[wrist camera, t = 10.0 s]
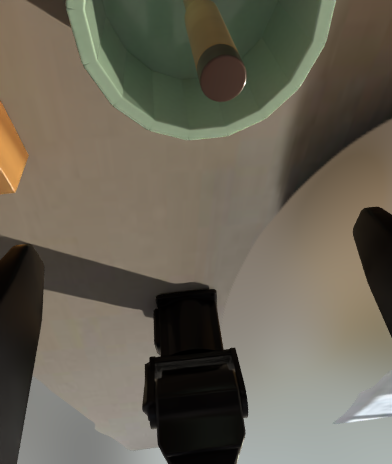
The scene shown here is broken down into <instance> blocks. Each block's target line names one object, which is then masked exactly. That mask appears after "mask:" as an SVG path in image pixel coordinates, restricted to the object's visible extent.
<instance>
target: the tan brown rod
mask: <svg viewBox="0 0 392 464" xmlns="http://www.w3.org/2000/svg"><path fill="white" fill-rule="evenodd" d="M183 2H184V6H185V10H186V12H185V26H186V30H187V34H188V38H189V42H190V46H191V50H192V54H193V58H194V62H195V66H196V71H197V75H198V79H199V83H200V87H201V90H202V92H203V93H204V94H205V96H206V97H208V98H209V99H211V100H213V101H217V102H225V101H229V100H231V99H233V98H235V97H236V96H237V95H238V94H239V93H240V92H241V91H242V89H243V88H244V85H245V83H246V78H247V73H246V68H245V66H244V63H243V61H242V59H241V57H240V55H239V53H238V51H237V48H236V46H235V44H234V42H233V40H232V38H231V36H230V33H229V31H228V29H227V27H226V25H225V23H224V21H223V18H222V16H221V14H220V12H219V10H218V8H217V6H216V5H215V3H214V2H213V1H211V0H183Z"/></svg>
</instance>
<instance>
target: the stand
mask: <svg viewBox="0 0 392 464" xmlns="http://www.w3.org/2000/svg"><path fill="white" fill-rule="evenodd" d="M27 159H28V154H27V152H26V150H25V148H24V146H23V144H22V142H21V140H20V138H19V136H18V134H17V132H16V130H15V128H14V126H13V124H12V122H11V120H10V118H9V116H8V115H7V113H6V111H5V109H4V107H3V105H2V103H1V101H0V194H7V193H15V192H16V189H17V186H18V184H19V181H20V178H21V175H22V173H23V170H24V167H25V164H26V161H27Z"/></svg>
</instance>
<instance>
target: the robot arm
mask: <svg viewBox="0 0 392 464" xmlns="http://www.w3.org/2000/svg"><path fill="white" fill-rule="evenodd" d="M353 236H354V240H355V243H356V246H357V250H358V253H359V256H360V259H361V262H362V266H363V269H364V272H365V276H366V278H367V282H368V284H369V286H370V289H371V291H372V294H373V296H374V298H375V301H376V303H377V305H378V307H379V310H380V312H381V314H382V316H383V319H384V321H385V323H386V325H387V328H388V330H389V332H390V335H391V337H392V215H391V214H390V213H388V212H387V211H385V210H383V209H382V208H380V207H369V208H364V209H363V210H362V211H361V212H360V215H359V217H358V219H357V221H356V223H355V225H354V228H353ZM43 289H44V264H43V261H42V260H41V258H40V257H39V255H38V253H37V252H36V250H35V249H34V247H33V246H32V245H30V244H23V245H16V246H13V247H12V248H11V249H10V250H9V251H8V252H7V253H6V254H5V256H4V257H3V258H2V259H1V260H0V464H17V460H18V454H19V448H20V443H21V436H22V431H23V425H24V420H25V414H26V408H27V403H28V397H29V391H30V386H31V380H32V374H33V369H34V363H35V357H36V351H37V346H38V340H39V334H40V329H41V322H42V309H43ZM156 304H157V307H158V309H155V310H154V345H155V348H156V351H157V353H158V354H159V355H161V357H155V356H154V357H150V362H149V363H147V364H145V386H144V395H143V405H142V409H143V412H144V413H145V414H146V415H147V416H148V420H149V421H150V426H151V429H157V439H158V446H159V448H160V450H161V452H162V454H163V456H164V458H165V459H166V461H167V463H168V464H237V461H238V457H239V454H240V451H241V448H242V444H243V441H244V438H245V426H244V419H243V418H247V417H248V402H247V395H246V390H245V385H244V381H243V377H242V373H241V369H240V365H239V361H238V357H237V353H236V349H235V348H230V349H226V350H223V344H222V337H221V331H220V325H219V319H218V313H217V293H216V290H215V289H209V290H201V291H192V292H183V293H175V294H166V295H159V296H157V297H156Z"/></svg>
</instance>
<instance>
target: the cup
mask: <svg viewBox="0 0 392 464" xmlns="http://www.w3.org/2000/svg"><path fill="white" fill-rule="evenodd" d="M211 1H213V2H214V3H215V5H216V6H217V8H218V10H219V12H220V14H221V16H222V18H223V21H224V23H225V25H226V27H227V29H228V31H229V33H230V36H231V38H232V40H233V42H234V44H235V46H236V48H237V51H238V53H239V55H240V57H241V59H242V61H243V63H244V66H245V68H246V73H247V78H246V83H245V85H244V88H243V89H242V91H241V92H240V93H239V94H238V95H237V96H236V97H235V98H233V99H231V100H229V101H225V102H217V101H213V100H211V99H209V98H208V97H206V96H205V94H204V93H203V92H202V90H201V87H200V83H199V79H198V75H197V71H196V66H195V62H194V58H193V54H192V50H191V46H190V42H189V38H188V34H187V30H186V26H185V12H186V10H185V6H184V2H183V0H66V11H67V14H68V18H69V21H70V25H71V28H72V31H73V35H74V38H75V42H76V45H77V49H78V52H79V55H80V59H81V62H82V64H83V66H84V68H85V69H86V71H87V72H88V73H89V75H90V76H91V77H92V79H93V80H94V82H95V83H96V84H97V86H98V87H99V88H100V90H101V91H102V93H103V94H104V95H105V97H106V98H107V100H108V101H109V102H110V104H111V105H113V107H115V108H116V109H117V110H119V111H120V112H122V113H123V114H125V115H126V116H128V117H129V118H131V119H132V120H134V121H135V122H137V123H138V124H140V125H141V126H142V127H144V128H145V129H147V130H149V131H152V132H156V133H160V134H164V135H168V136H172V137H176V138H180V139H184V140H197V139H207V138H217V137H226V136H229V135H232V134H234V133H236V132H238V131H240V130H243V129H245V128H247V127H249V126H251V125H254V124H256V123H258V122H260V121H262V120H264V119H266V118H267V117H268V116H269V115H270V114H272V113H273V112H274V111H275V110H276V109H277V108H278V107H279V106H280V105H281V104H283V103H284V102H285V101H286V100H287V99H288V98H289V97H290V96H291V95H292V94H294V93H295V92H296V91H297V90H298V89H299V87H300V86H301V85H302V83H303V81H304V79H305V78H306V76H307V74H308V73H309V71H310V69H311V68H312V66H313V64H314V62H315V61H316V59H317V57H318V56H319V54H320V52H321V51H322V49H323V47H324V46H325V42H326V41H327V36H328V32H329V28H330V24H331V19H332V15H333V11H334V6H335V2H336V0H211Z"/></svg>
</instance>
